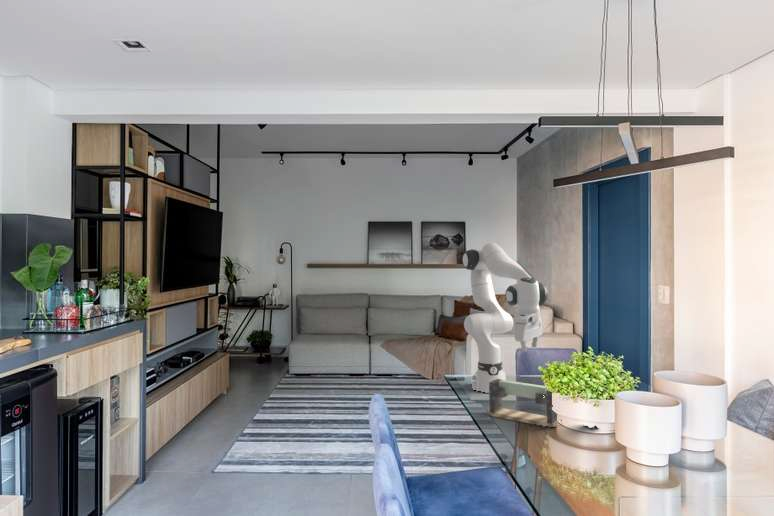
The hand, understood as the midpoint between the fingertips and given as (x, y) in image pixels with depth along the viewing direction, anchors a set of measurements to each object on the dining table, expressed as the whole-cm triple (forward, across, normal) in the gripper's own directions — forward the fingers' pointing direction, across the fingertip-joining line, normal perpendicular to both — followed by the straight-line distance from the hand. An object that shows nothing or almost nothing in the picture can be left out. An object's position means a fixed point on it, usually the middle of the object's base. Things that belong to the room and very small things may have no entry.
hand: (529, 348), depth 211 cm
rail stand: (+28, +8, 0) cm, 29 cm away
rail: (+18, +8, 0) cm, 20 cm away
